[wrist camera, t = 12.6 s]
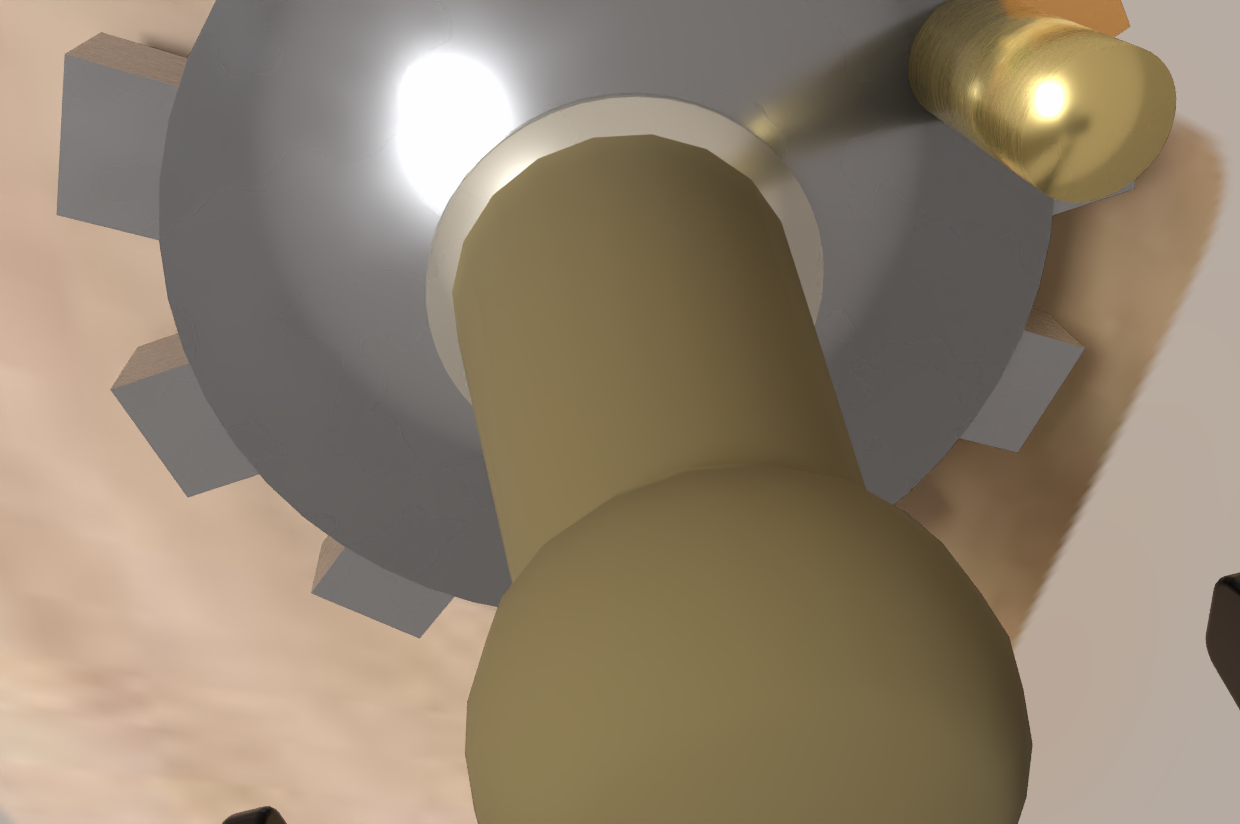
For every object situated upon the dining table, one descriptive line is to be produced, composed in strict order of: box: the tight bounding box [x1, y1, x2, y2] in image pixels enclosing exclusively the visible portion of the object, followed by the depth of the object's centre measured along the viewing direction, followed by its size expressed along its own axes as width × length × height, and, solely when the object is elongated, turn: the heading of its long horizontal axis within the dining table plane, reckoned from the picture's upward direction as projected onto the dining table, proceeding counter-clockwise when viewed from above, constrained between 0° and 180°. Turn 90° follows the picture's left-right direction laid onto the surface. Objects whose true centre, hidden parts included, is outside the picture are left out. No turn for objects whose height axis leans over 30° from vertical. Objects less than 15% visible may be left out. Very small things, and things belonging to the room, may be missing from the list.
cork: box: [452, 134, 1032, 824], centre depth 12 cm, size 6×6×11 cm
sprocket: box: [57, 0, 1176, 638], centre depth 16 cm, size 19×18×6 cm
